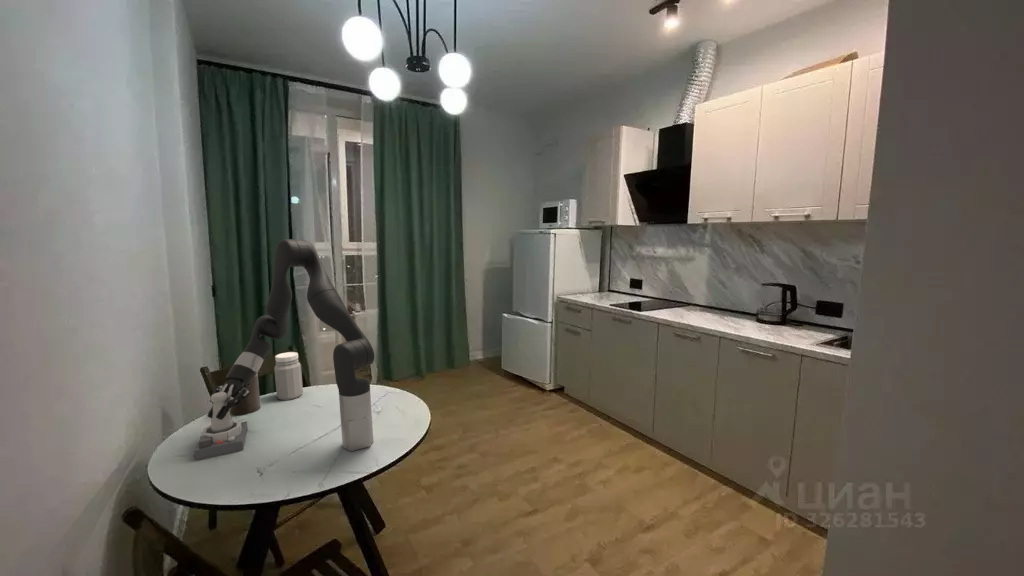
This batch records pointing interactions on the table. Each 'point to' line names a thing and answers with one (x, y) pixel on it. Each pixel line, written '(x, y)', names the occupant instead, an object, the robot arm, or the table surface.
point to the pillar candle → (249, 400)
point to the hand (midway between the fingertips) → (214, 417)
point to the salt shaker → (218, 403)
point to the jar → (288, 376)
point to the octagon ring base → (221, 441)
